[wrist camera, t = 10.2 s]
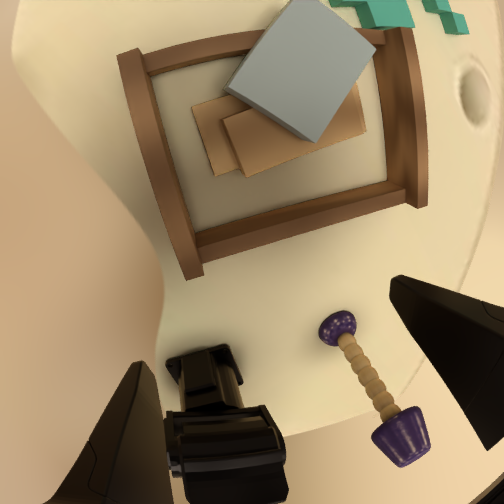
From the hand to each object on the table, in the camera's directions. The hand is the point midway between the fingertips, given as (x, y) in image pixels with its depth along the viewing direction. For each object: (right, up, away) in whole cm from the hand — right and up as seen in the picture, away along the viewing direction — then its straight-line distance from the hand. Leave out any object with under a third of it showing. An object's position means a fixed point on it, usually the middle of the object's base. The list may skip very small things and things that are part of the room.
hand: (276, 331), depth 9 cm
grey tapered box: (+4, +17, +4) cm, 18 cm away
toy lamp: (+8, -5, +20) cm, 22 cm away
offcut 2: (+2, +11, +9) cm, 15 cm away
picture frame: (+2, +11, +10) cm, 15 cm away
